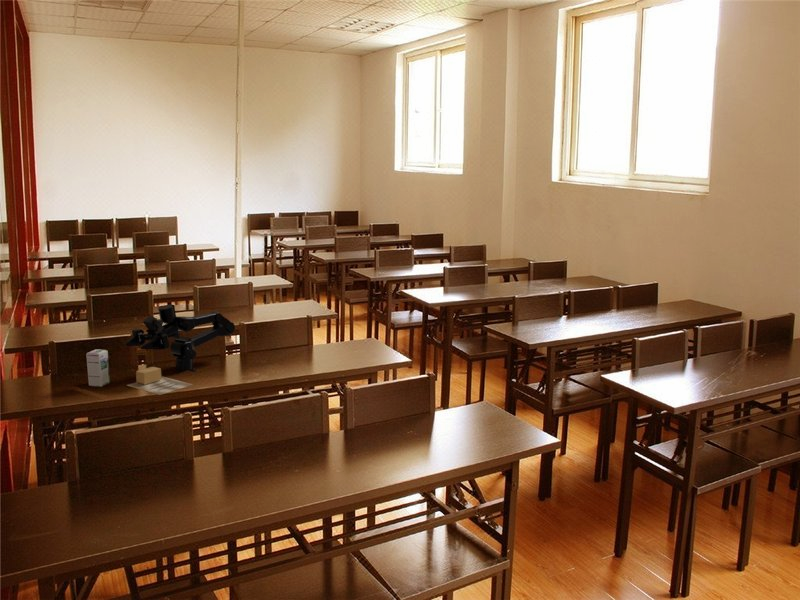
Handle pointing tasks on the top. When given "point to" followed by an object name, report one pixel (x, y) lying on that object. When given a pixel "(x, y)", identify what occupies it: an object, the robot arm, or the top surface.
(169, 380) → the grey patterned flat panel
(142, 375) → the sanding block
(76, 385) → the top surface
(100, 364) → the syrup box
